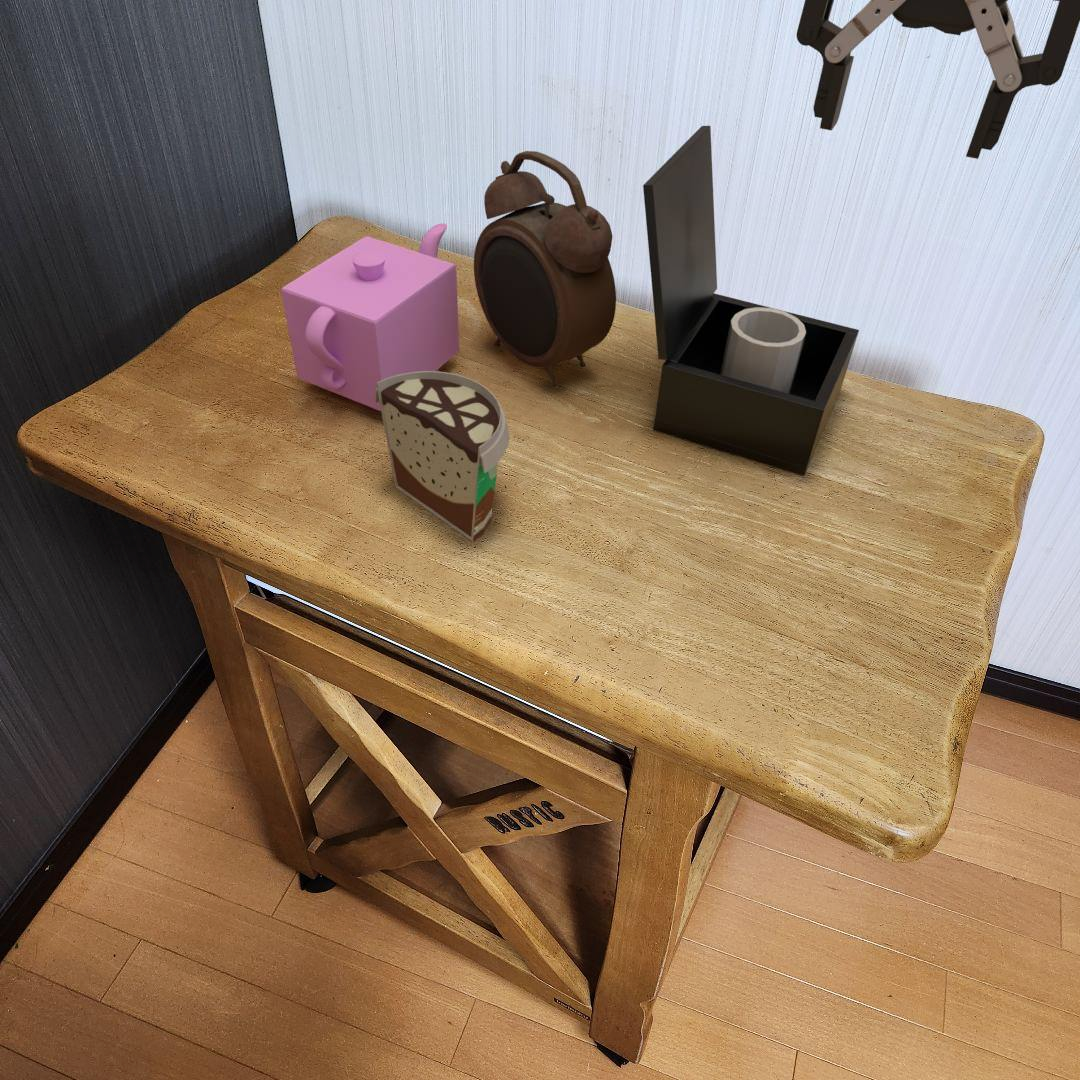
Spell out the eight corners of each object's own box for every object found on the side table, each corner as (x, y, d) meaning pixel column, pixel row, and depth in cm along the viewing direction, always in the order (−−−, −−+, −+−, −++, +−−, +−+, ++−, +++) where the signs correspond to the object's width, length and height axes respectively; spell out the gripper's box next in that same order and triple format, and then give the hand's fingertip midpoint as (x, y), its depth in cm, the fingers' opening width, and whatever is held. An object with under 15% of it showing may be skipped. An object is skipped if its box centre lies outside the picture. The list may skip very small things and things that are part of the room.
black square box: (839, 393, 88) (859, 329, 83) (804, 476, 79) (824, 410, 74) (701, 355, 92) (712, 292, 87) (652, 430, 83) (662, 364, 78)
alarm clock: (464, 343, 92) (457, 142, 78) (519, 320, 96) (521, 123, 82) (559, 410, 85) (570, 200, 71) (615, 382, 88) (636, 176, 74)
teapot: (369, 441, 80) (353, 315, 72) (281, 405, 84) (255, 280, 75) (490, 339, 93) (489, 221, 84) (410, 311, 97) (400, 195, 88)
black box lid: (710, 125, 77) (701, 125, 78) (652, 185, 68) (642, 185, 69) (717, 288, 87) (709, 288, 87) (667, 360, 77) (658, 359, 78)
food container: (540, 513, 74) (544, 414, 67) (486, 551, 71) (484, 451, 64) (437, 447, 80) (431, 349, 73) (383, 479, 77) (371, 379, 70)
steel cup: (793, 393, 86) (813, 318, 80) (775, 430, 82) (795, 353, 76) (728, 375, 88) (743, 300, 82) (707, 410, 84) (721, 334, 78)
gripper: (836, -216, 43) (766, 137, 54) (1170, -190, 39) (1019, 187, 50) (867, -226, 48) (798, 99, 59) (1167, -205, 44) (1030, 141, 55)
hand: (899, 139), depth 54 cm, fingers open, 8 cm apart
